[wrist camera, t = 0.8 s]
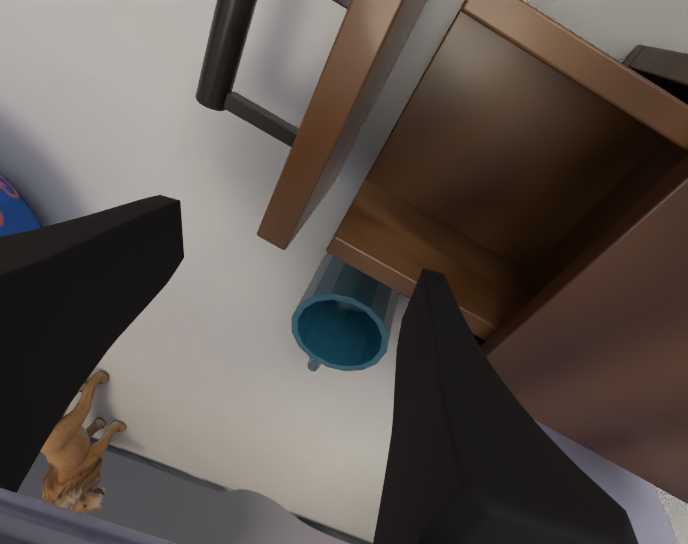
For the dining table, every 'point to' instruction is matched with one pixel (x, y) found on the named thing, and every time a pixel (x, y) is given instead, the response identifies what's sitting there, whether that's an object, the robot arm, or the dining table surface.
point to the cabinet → (616, 328)
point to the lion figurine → (77, 456)
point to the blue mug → (344, 317)
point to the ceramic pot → (14, 211)
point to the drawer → (463, 148)
